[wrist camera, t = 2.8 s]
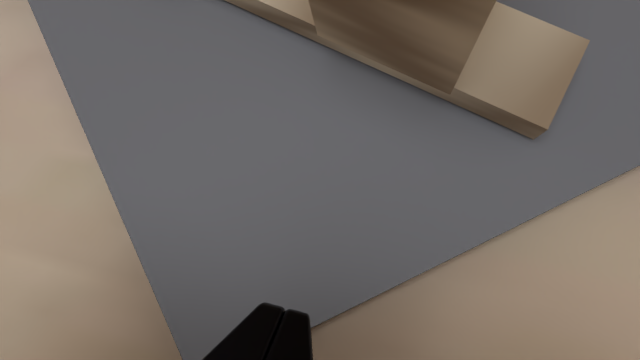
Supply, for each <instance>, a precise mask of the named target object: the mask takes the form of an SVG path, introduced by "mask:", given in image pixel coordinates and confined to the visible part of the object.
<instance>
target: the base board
mask: <svg viewBox="0 0 640 360" xmlns="http://www.w3.org/2000/svg"><path fill="white" fill-rule="evenodd" d="M496 1H497V2H499V3H502V4H504V5H506V6H509V7H511V8H514V9H516V10H518V11H521V12H523V13H526V14H528V15H530V16H533V17H535V18H537V19H540V20H542V21H545V22H547V23H549V24H552V25H554V26H557V27H559V28H561V29H564V30H566V31H569V32H571V33H573V34H576V35H578V36H581V37H583V38H585V39H588V40H590V42H589V44H588V46H587V48H586V50H585V52H584V54H583V57H582V59H581V61H580V63H579V65H578V67H577V69H576V71H575V73H574V76H573V78H572V80H571V82H570V84H569V86H568V88H567V90H566V92H565V95H564V97H563V99H562V101H561V103H560V105H559V107H558V109H557V111H556V114H555V116H554V118H553V120H552V122H551V124H550V126H549V128H548V130H547V131H545V132H544V133H542V134H541V135H539V136H538V137H537V138H535V139H534V140H533V139H531V138H529V137H527V136H525V135H522V134H520V133H518V132H516V131H513V130H511V129H509V128H507V127H505V126H502V125H500V124H498V123H496V122H493V121H491V120H489V119H487V118H485V117H482V116H480V115H478V114H476V113H473V112H471V111H469V110H467V109H465V108H462V107H460V106H458V105H456V104H454V103H451V102H449V101H447V100H445V99H442V98H440V97H438V96H436V95H434V94H431V93H429V92H427V91H425V90H422V89H420V88H418V87H416V86H414V85H411V84H409V83H407V82H405V81H402V80H400V79H398V78H396V77H394V76H391V75H389V74H387V73H385V72H382V71H380V70H378V69H376V68H374V67H371V66H369V65H367V64H365V63H362V62H360V61H358V60H356V59H354V58H351V57H349V56H347V55H345V54H343V53H340V52H338V51H336V50H334V49H331V48H329V47H327V46H325V45H323V44H320V43H318V42H316V41H314V40H311V39H309V38H307V37H305V36H303V35H300V34H298V33H296V32H294V31H291V30H289V29H287V28H285V27H283V26H280V25H278V24H276V23H274V22H271V21H269V20H267V19H265V18H263V17H260V16H258V15H256V14H254V13H252V12H249V11H247V10H245V9H243V8H240V7H238V6H236V5H234V4H232V3H229V2H227V1H225V0H28V2H29V4H30V7H31V9H32V11H33V14H34V16H35V18H36V20H37V23H38V25H39V27H40V30H41V32H42V34H43V37H44V39H45V41H46V44H47V46H48V48H49V51H50V53H51V55H52V58H53V60H54V62H55V65H56V67H57V69H58V71H59V74H60V76H61V78H62V81H63V83H64V85H65V88H66V90H67V92H68V95H69V97H70V99H71V102H72V104H73V106H74V109H75V111H76V113H77V116H78V118H79V120H80V123H81V125H82V127H83V129H84V132H85V134H86V136H87V139H88V141H89V143H90V146H91V148H92V150H93V153H94V155H95V157H96V160H97V162H98V164H99V167H100V169H101V171H102V174H103V176H104V178H105V180H106V183H107V185H108V187H109V190H110V192H111V194H112V197H113V199H114V201H115V204H116V206H117V208H118V211H119V213H120V215H121V218H122V220H123V222H124V225H125V227H126V229H127V232H128V234H129V236H130V238H131V241H132V243H133V245H134V248H135V250H136V252H137V255H138V257H139V259H140V262H141V264H142V266H143V269H144V271H145V273H146V276H147V278H148V280H149V283H150V285H151V287H152V289H153V292H154V294H155V296H156V299H157V301H158V303H159V306H160V308H161V310H162V313H163V315H164V317H165V320H166V322H167V324H168V327H169V329H170V331H171V334H172V336H173V338H174V341H175V343H176V345H177V347H178V350H179V352H180V354H181V357H182V359H183V360H202V359H203V358H204V357H205V356H206V355H207V354H208V353H209V352H210V351H211V350H212V349H213V348H214V347H215V346H217V345H218V344H219V343H220V342H221V341H222V340H223V339H224V338H225V337H226V336H227V335H228V334H229V333H230V332H231V331H232V330H233V329H234V328H235V327H236V326H237V325H238V324H239V323H240V322H241V321H242V320H244V319H245V318H246V317H247V316H248V315H249V314H250V313H251V312H252V311H253V310H254V309H255V308H256V307H257V306H258V305H259V304H261V303H264V302H266V303H270V304H274V305H278V306H282V307H283V308H284V309H285V311H286V310H287V309H293V310H297V311H301V312H305V313H307V314H308V315H309V316H310V325H311V328H312V327H314V326H316V325H318V324H320V323H322V322H324V321H326V320H328V319H330V318H332V317H334V316H336V315H338V314H340V313H342V312H344V311H346V310H348V309H350V308H352V307H354V306H356V305H359V304H361V303H363V302H365V301H367V300H369V299H371V298H373V297H375V296H377V295H379V294H381V293H383V292H385V291H387V290H389V289H391V288H393V287H395V286H397V285H399V284H401V283H403V282H405V281H407V280H409V279H411V278H413V277H415V276H417V275H419V274H421V273H423V272H425V271H427V270H429V269H431V268H433V267H435V266H437V265H439V264H441V263H443V262H445V261H447V260H449V259H451V258H453V257H455V256H457V255H459V254H461V253H463V252H465V251H467V250H470V249H472V248H474V247H476V246H478V245H480V244H482V243H484V242H486V241H488V240H490V239H492V238H494V237H496V236H498V235H500V234H502V233H504V232H506V231H508V230H510V229H512V228H514V227H516V226H518V225H520V224H522V223H524V222H526V221H528V220H530V219H532V218H534V217H536V216H538V215H540V214H542V213H544V212H546V211H548V210H550V209H552V208H554V207H556V206H558V205H560V204H562V203H564V202H566V201H568V200H570V199H572V198H574V197H576V196H578V195H581V194H583V193H585V192H587V191H589V190H591V189H593V188H595V187H597V186H599V185H601V184H603V183H605V182H607V181H609V180H611V179H613V178H615V177H617V176H619V175H621V174H623V173H625V172H627V171H629V170H631V169H633V168H635V167H637V166H639V165H640V0H496Z"/></svg>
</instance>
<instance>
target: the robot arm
mask: <svg viewBox="0 0 640 360" xmlns="http://www.w3.org/2000/svg"><path fill="white" fill-rule="evenodd" d="M202 360H313V353H312V339H311V325H310V316H309V315H308V314H307V313H305V312H301V311H297V310H293V309H287V310H286V311H285V309H284V308H283V307H282V306H278V305H274V304H270V303H266V302H264V303H261V304H259V305H258V306H257V307H256V308H255V309H254V310H253V311H252V312H251V313H250V314H249V315H248V316H247V317H246V318H245V319H244V320H242V321H241V322H240V323H239V324H238V325H237V326H236V327H235V328H234V329H233V330H232V331H231V332H230V333H229V334H228V335H227V336H226V337H225V338H224V339H223V340H222V341H221V342H220V343H219V344H218V345H217V346H215V347H214V348H213V349H212V350H211V351H210V352H209V353H208V354H207V355H206V356H205V357H204V358H203V359H202Z"/></svg>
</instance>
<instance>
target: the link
mask: <svg viewBox="0 0 640 360" xmlns="http://www.w3.org/2000/svg"><path fill="white" fill-rule="evenodd" d="M225 1H227V2H229V3H232V4H234V5H236V6H238V7H240V8H243V9H245V10H247V11H249V12H252V13H254V14H256V15H258V16H260V17H263V18H265V19H267V20H269V21H271V22H274V23H276V24H278V25H280V26H283V27H285V28H287V29H289V30H291V31H294V32H296V33H298V34H300V35H303V36H305V37H307V38H309V39H311V40H314V41H316V42H318V43H320V44H323V45H325V46H327V47H329V48H331V49H334V50H336V51H338V52H340V53H343V54H345V55H347V56H349V57H351V58H354V59H356V60H358V61H360V62H362V63H365V64H367V65H369V66H371V67H374V68H376V69H378V70H380V71H382V72H385V73H387V74H389V75H391V76H394V77H396V78H398V79H400V80H402V81H405V82H407V83H409V84H411V85H414V86H416V87H418V88H420V89H422V90H425V91H427V92H429V93H431V94H434V95H436V96H438V97H440V98H442V99H445V100H447V101H449V102H451V103H454V104H456V105H458V106H460V107H462V108H465V109H467V110H469V111H471V112H473V113H476V114H478V115H480V116H482V117H485V118H487V119H489V120H491V121H493V122H496V123H498V124H500V125H502V126H505V127H507V128H509V129H511V130H513V131H516V132H518V133H520V134H522V135H525V136H527V137H529V138H531V139H533V140H534V139H535V138H537V137H538V136H539V135H541V134H542V133H544V132H545V131H547V130H548V128H549V126H550V124H551V122H552V120H553V118H554V116H555V114H556V111H557V109H558V107H559V105H560V103H561V101H562V99H563V97H564V95H565V92H566V90H567V88H568V86H569V84H570V82H571V80H572V78H573V76H574V73H575V71H576V69H577V67H578V65H579V63H580V61H581V59H582V57H583V54H584V52H585V50H586V48H587V46H588V44H589V42H590V40H588V39H585V38H583V37H581V36H578V35H576V34H573V33H571V32H569V31H566V30H564V29H561V28H559V27H557V26H554V25H552V24H549V23H547V22H545V21H542V20H540V19H537V18H535V17H533V16H530V15H528V14H526V13H523V12H521V11H518V10H516V9H514V8H511V7H509V6H506V5H504V4H502V3H499V2H497V1H496V0H225Z"/></svg>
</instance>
